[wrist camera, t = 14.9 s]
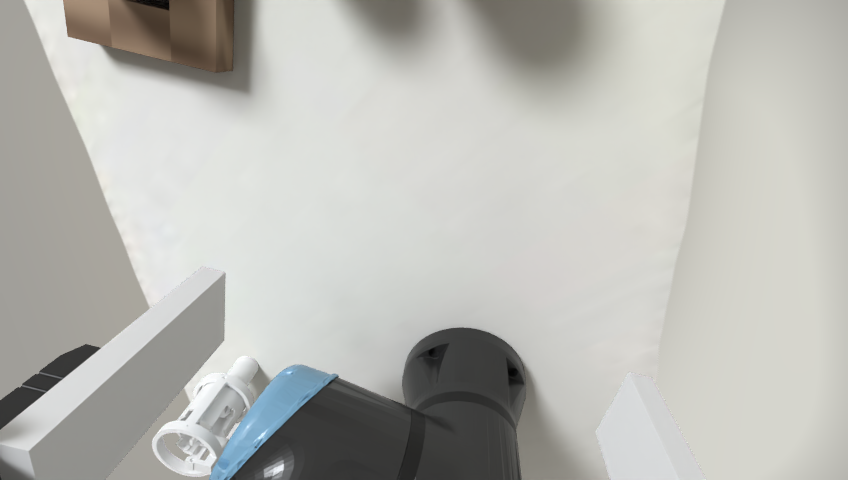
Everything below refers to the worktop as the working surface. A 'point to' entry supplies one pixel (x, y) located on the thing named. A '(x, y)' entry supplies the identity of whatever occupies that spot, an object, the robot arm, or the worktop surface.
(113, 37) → the socket block
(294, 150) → the worktop surface
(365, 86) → the worktop surface
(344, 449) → the robot arm
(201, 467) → the white tall cylindrical piece
